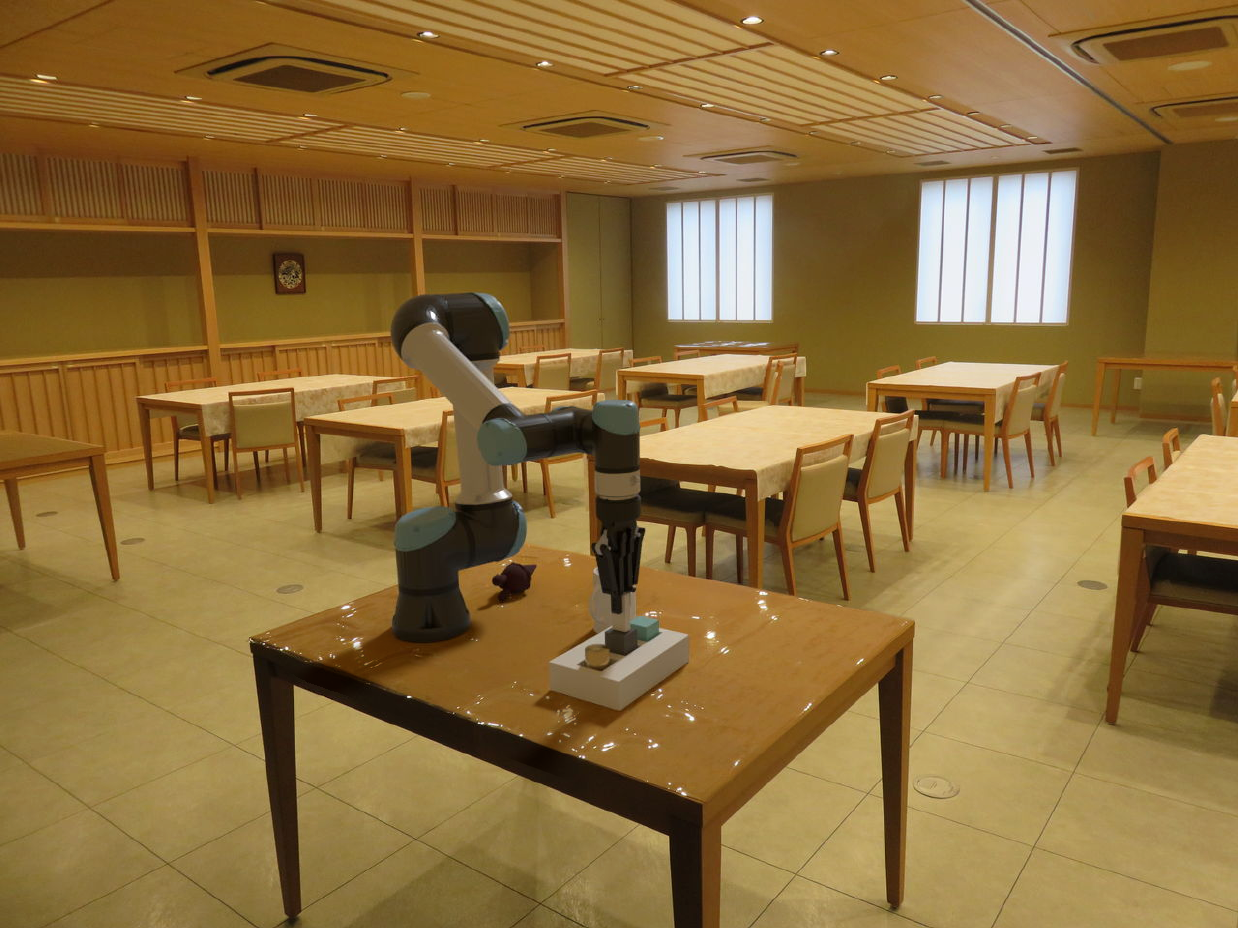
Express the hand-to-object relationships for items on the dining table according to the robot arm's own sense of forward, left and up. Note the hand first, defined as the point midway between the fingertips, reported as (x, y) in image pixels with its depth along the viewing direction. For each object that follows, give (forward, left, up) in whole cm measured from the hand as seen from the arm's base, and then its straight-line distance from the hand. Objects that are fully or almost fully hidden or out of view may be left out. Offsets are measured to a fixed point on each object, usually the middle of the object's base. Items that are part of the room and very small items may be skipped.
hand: (621, 629), depth 154 cm
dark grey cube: (0, 0, -5) cm, 5 cm away
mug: (-13, +15, -9) cm, 22 cm away
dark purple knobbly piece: (-43, +23, -9) cm, 49 cm away
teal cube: (0, +7, -6) cm, 9 cm away
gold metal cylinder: (0, -7, -6) cm, 9 cm away
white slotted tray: (0, 0, -9) cm, 9 cm away
